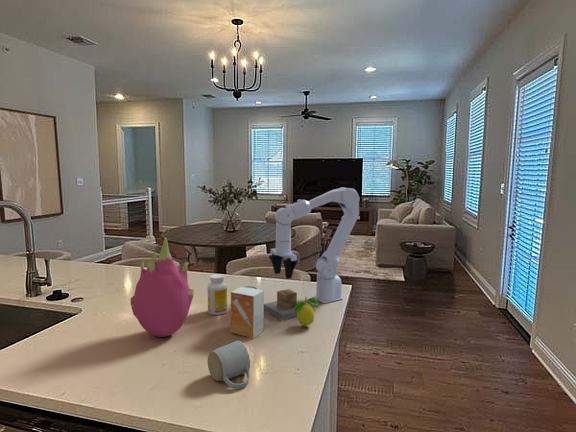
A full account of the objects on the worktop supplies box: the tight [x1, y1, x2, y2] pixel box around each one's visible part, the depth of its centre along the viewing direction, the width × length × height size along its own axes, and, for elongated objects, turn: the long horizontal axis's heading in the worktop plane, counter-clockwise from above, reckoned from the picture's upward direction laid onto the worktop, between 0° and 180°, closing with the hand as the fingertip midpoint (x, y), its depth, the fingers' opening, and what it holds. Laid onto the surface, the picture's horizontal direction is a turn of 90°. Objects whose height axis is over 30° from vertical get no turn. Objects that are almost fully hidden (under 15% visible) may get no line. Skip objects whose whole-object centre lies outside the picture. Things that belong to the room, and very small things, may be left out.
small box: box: [230, 286, 265, 339], centre depth 114 cm, size 8×6×13 cm
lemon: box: [294, 297, 319, 327], centre depth 120 cm, size 7×6×10 cm
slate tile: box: [264, 300, 300, 321], centre depth 133 cm, size 12×12×2 cm
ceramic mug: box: [207, 340, 251, 390], centre depth 89 cm, size 11×8×8 cm
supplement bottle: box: [207, 274, 228, 316], centre depth 131 cm, size 7×7×13 cm
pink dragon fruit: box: [129, 236, 195, 338], centre depth 111 cm, size 18×14×30 cm
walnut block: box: [276, 288, 298, 309], centre depth 132 cm, size 5×5×5 cm
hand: (282, 275), depth 142 cm, fingers open, 7 cm apart
